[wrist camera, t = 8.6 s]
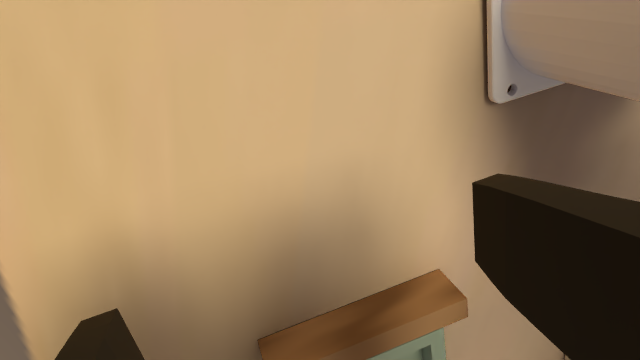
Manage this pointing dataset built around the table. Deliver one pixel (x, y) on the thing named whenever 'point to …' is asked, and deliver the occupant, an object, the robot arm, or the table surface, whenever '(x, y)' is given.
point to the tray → (418, 349)
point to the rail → (372, 323)
